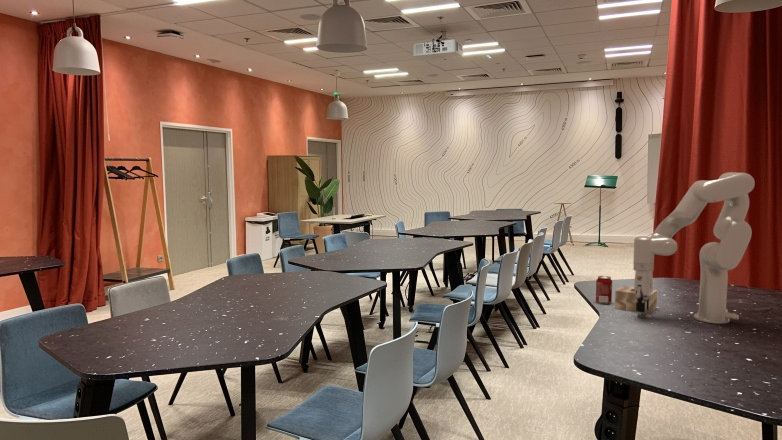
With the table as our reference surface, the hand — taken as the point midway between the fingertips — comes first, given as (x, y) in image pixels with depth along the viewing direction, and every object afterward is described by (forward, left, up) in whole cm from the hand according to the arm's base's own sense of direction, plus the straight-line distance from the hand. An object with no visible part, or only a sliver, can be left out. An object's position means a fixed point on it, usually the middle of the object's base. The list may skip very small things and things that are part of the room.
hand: (642, 309), depth 223 cm
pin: (0, 0, -3) cm, 3 cm away
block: (+6, -14, -3) cm, 15 cm away
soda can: (+21, -15, -3) cm, 26 cm away
